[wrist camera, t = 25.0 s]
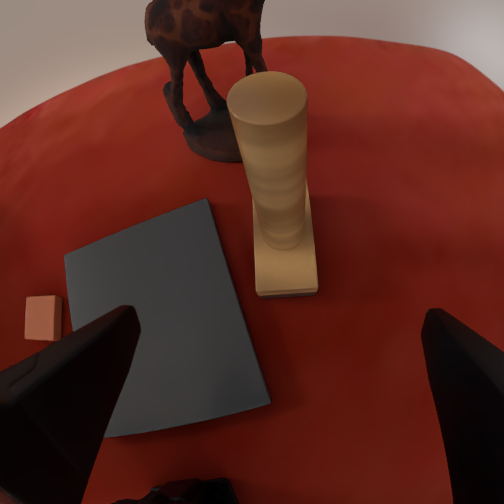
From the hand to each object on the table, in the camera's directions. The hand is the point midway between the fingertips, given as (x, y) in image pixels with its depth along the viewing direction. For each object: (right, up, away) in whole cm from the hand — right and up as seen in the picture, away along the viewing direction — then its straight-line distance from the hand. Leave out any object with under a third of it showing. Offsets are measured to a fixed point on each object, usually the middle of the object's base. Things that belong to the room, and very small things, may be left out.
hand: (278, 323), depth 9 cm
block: (-19, -4, +16) cm, 25 cm away
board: (-8, -3, +14) cm, 17 cm away
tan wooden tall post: (+2, +3, +15) cm, 15 cm away
